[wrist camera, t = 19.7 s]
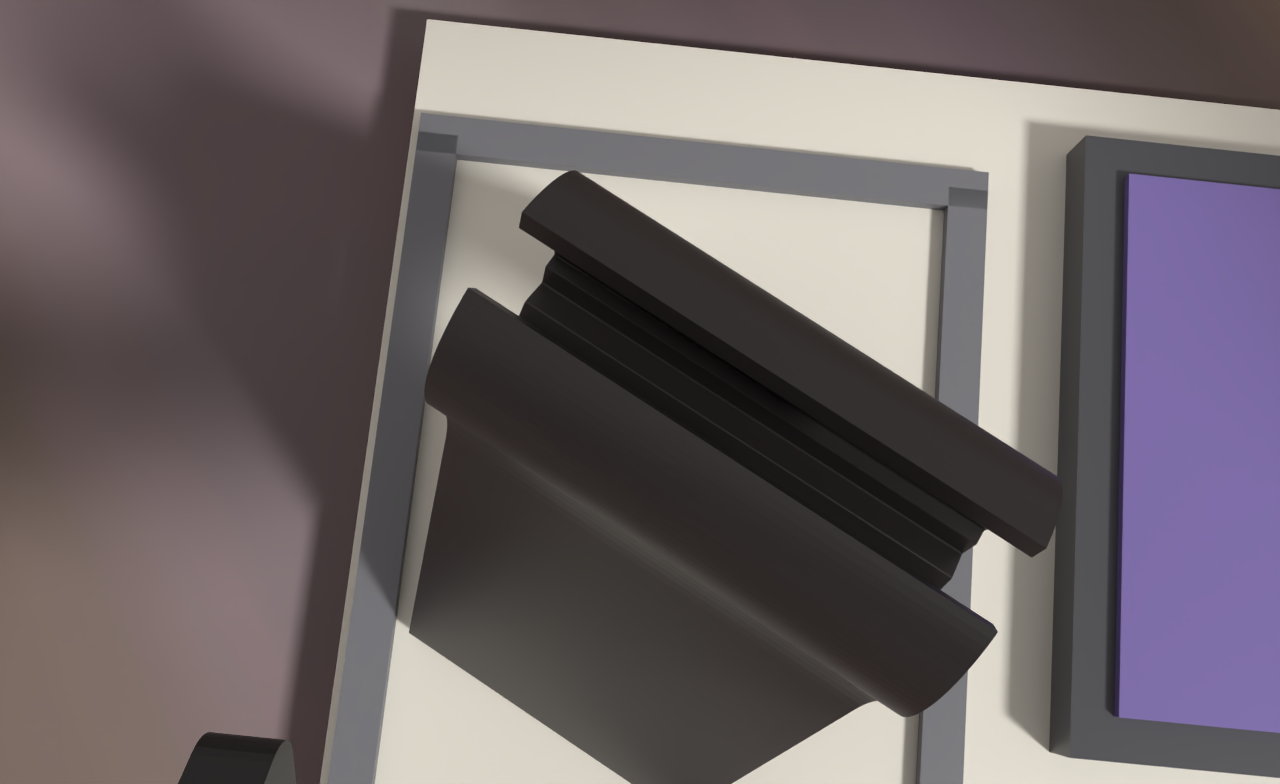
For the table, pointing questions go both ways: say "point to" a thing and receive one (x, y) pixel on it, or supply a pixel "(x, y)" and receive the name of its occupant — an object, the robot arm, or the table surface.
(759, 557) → the phone stand
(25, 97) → the table surface
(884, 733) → the white flat board
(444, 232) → the marked box
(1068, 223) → the ink pad
